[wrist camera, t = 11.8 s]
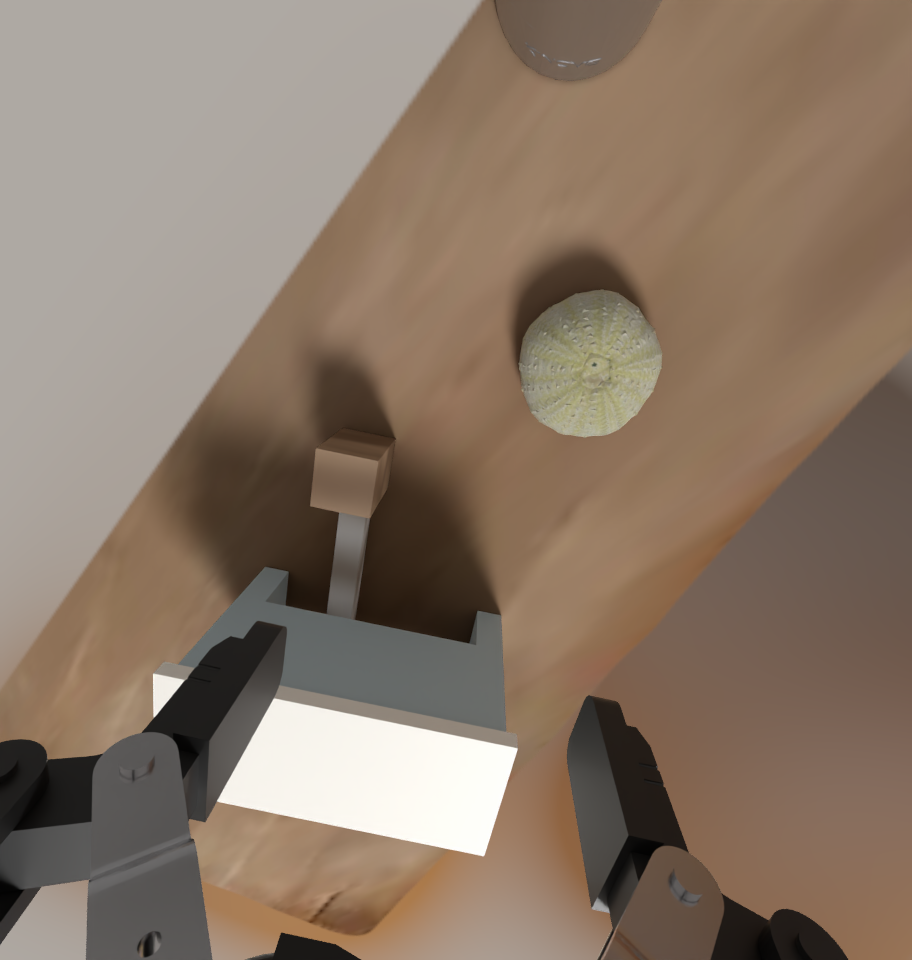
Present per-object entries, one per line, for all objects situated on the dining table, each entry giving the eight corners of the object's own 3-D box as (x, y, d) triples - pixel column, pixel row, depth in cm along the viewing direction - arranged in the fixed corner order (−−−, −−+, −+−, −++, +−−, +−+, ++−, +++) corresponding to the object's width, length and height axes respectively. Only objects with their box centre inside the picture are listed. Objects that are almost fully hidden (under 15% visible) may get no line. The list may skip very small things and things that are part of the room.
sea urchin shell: (503, 436, 34) (525, 361, 27) (515, 349, 37) (537, 262, 30) (634, 458, 34) (691, 388, 26) (633, 369, 37) (684, 285, 30)
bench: (259, 560, 40) (153, 673, 27) (508, 611, 40) (517, 748, 28) (253, 649, 43) (154, 788, 30) (485, 696, 43) (484, 856, 30)
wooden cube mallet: (343, 427, 36) (315, 448, 31) (395, 438, 36) (378, 461, 31) (320, 613, 42) (293, 660, 36) (366, 623, 42) (347, 671, 36)
